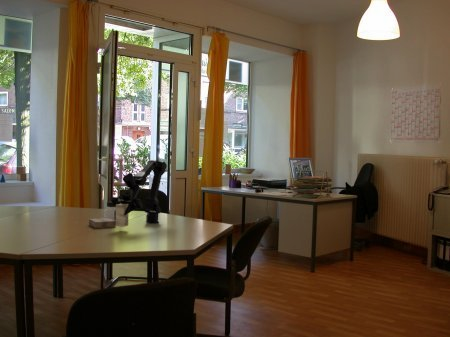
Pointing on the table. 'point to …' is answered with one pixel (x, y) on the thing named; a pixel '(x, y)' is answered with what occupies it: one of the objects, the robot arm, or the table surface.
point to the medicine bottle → (110, 211)
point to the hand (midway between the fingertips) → (120, 214)
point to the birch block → (121, 215)
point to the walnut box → (102, 223)
